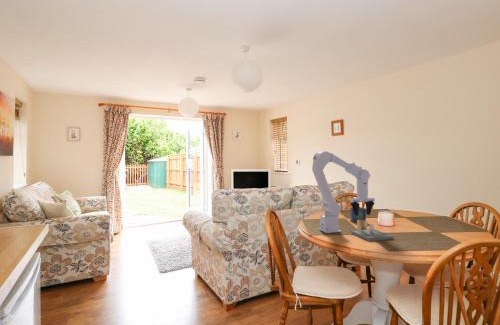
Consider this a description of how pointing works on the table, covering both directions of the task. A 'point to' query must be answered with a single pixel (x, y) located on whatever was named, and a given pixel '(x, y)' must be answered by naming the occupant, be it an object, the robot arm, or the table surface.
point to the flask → (360, 214)
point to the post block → (372, 234)
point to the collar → (361, 225)
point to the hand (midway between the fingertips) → (362, 214)
